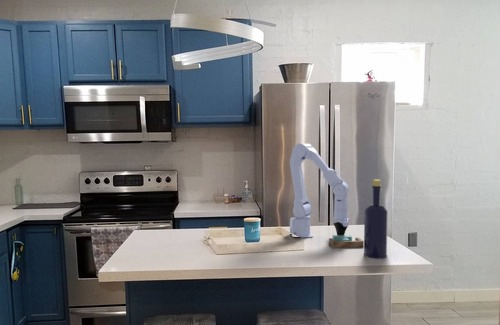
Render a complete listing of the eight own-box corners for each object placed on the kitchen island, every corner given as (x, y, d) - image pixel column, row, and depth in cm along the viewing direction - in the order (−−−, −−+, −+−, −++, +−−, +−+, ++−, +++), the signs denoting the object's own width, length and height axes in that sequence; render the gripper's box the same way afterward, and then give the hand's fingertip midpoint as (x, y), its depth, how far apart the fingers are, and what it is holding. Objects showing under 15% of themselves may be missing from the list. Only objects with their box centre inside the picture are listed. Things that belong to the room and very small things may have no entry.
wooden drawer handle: (333, 247, 157) (333, 242, 156) (328, 243, 163) (328, 238, 163) (363, 247, 158) (363, 241, 158) (357, 243, 164) (358, 237, 164)
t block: (336, 246, 158) (336, 239, 158) (332, 242, 166) (332, 235, 166) (355, 246, 159) (355, 239, 158) (350, 241, 166) (350, 235, 166)
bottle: (384, 251, 151) (385, 178, 149) (390, 258, 142) (392, 181, 140) (361, 251, 152) (362, 178, 150) (365, 258, 143) (367, 181, 141)
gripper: (355, 212, 160) (354, 243, 161) (344, 206, 174) (343, 234, 175) (339, 212, 159) (339, 243, 160) (329, 206, 174) (329, 234, 174)
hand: (340, 238), depth 167 cm, fingers closed
